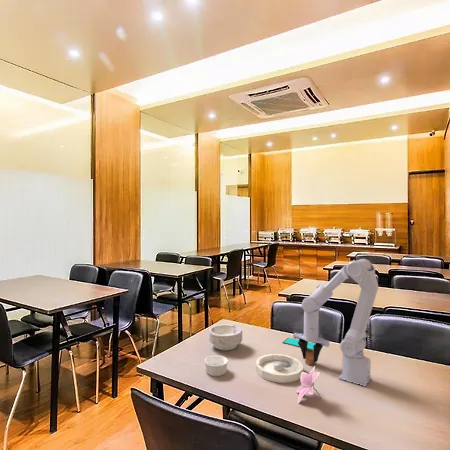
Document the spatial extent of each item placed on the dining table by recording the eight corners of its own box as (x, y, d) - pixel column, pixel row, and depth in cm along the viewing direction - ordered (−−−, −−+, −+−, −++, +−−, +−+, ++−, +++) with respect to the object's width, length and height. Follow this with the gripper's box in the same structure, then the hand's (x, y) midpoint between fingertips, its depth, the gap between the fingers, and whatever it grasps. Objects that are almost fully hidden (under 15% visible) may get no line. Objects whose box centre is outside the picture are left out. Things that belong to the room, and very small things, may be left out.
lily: (304, 387, 113) (291, 364, 112) (335, 383, 107) (322, 359, 106) (296, 415, 103) (283, 390, 102) (331, 412, 97) (317, 386, 96)
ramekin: (225, 378, 117) (225, 366, 116) (201, 375, 118) (201, 364, 118) (229, 367, 125) (229, 356, 125) (207, 365, 127) (207, 354, 127)
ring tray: (309, 369, 124) (309, 362, 124) (290, 388, 110) (290, 380, 110) (269, 356, 135) (269, 350, 135) (247, 372, 121) (247, 365, 121)
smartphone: (288, 337, 156) (318, 344, 148) (288, 339, 156) (318, 346, 148) (282, 342, 150) (314, 349, 142) (282, 344, 150) (314, 351, 142)
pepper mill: (316, 362, 130) (317, 350, 130) (313, 366, 127) (313, 353, 127) (307, 360, 132) (307, 348, 132) (303, 363, 129) (303, 351, 129)
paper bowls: (203, 343, 149) (204, 326, 149) (233, 338, 155) (233, 322, 155) (216, 356, 135) (217, 337, 135) (248, 350, 142) (248, 332, 141)
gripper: (332, 327, 128) (331, 361, 129) (298, 320, 137) (297, 351, 137) (326, 332, 123) (325, 367, 123) (291, 324, 131) (290, 357, 131)
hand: (310, 359), depth 130 cm, fingers closed on pepper mill, 4 cm apart
